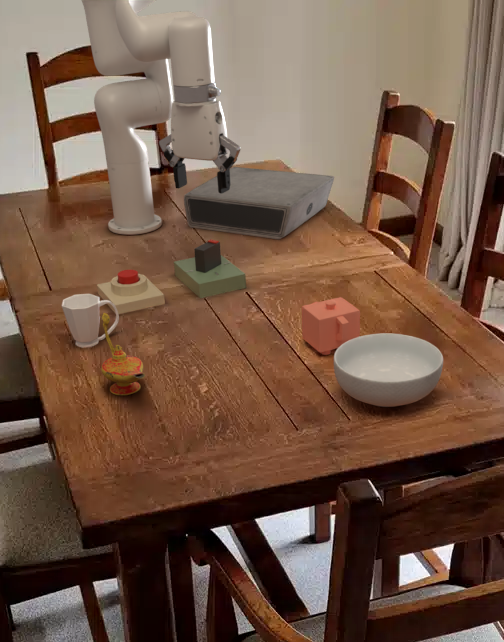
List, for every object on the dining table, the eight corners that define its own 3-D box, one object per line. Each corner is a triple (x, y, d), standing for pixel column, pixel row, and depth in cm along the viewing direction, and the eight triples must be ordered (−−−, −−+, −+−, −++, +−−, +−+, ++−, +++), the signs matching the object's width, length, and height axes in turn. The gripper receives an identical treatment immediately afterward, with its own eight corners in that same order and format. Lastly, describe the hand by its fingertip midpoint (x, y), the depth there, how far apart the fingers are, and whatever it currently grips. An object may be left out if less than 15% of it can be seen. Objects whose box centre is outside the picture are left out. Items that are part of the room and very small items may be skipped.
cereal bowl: (365, 432, 143) (366, 390, 138) (315, 386, 155) (315, 346, 151) (461, 405, 148) (465, 364, 144) (405, 363, 160) (407, 324, 156)
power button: (115, 280, 187) (114, 271, 186) (135, 276, 189) (134, 267, 188) (122, 287, 184) (121, 278, 183) (141, 283, 186) (140, 274, 185)
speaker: (177, 227, 223) (291, 241, 211) (173, 193, 219) (290, 205, 206) (226, 197, 240) (335, 208, 228) (224, 165, 236) (334, 175, 223)
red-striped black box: (205, 272, 190) (203, 249, 187) (195, 270, 191) (193, 247, 188) (221, 263, 194) (220, 240, 191) (212, 261, 195) (210, 238, 192)
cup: (63, 339, 174) (55, 298, 170) (114, 327, 178) (108, 286, 173) (74, 354, 169) (67, 312, 164) (127, 341, 173) (121, 299, 168)
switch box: (97, 293, 192) (95, 274, 189) (144, 283, 195) (142, 265, 192) (116, 315, 182) (113, 295, 180) (165, 304, 186) (163, 284, 183)
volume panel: (174, 275, 198) (173, 260, 196) (219, 266, 201) (217, 251, 199) (200, 298, 187) (198, 283, 185) (246, 288, 190) (245, 273, 189)
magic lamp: (126, 421, 149) (117, 357, 142) (92, 375, 162) (82, 315, 156) (167, 410, 151) (160, 347, 145) (130, 365, 164) (122, 306, 158)
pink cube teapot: (332, 327, 173) (332, 284, 169) (365, 352, 164) (366, 308, 160) (294, 336, 171) (293, 293, 166) (325, 362, 162) (324, 317, 157)
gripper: (246, 91, 171) (251, 187, 181) (166, 87, 179) (175, 179, 188) (224, 100, 166) (231, 199, 175) (143, 95, 173) (154, 190, 183)
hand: (202, 189), depth 182 cm, fingers open, 9 cm apart
